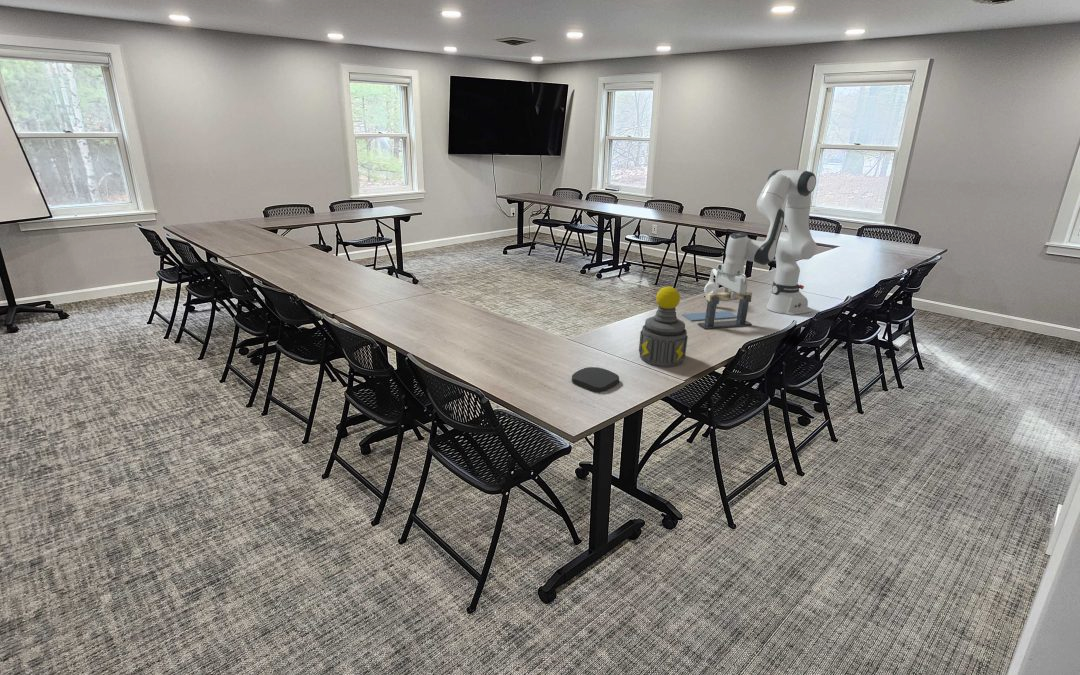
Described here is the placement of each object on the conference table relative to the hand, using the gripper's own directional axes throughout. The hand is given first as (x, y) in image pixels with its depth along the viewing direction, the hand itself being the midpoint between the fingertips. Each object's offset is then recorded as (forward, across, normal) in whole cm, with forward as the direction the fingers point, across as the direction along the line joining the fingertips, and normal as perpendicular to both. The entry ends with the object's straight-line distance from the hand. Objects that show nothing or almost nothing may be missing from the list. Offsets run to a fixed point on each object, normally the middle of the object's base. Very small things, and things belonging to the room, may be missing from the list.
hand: (728, 297), depth 263 cm
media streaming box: (+14, -45, +82) cm, 95 cm away
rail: (+1, 0, 0) cm, 1 cm away
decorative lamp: (+14, -30, +48) cm, 58 cm away
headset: (+14, +34, -13) cm, 39 cm away
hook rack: (+14, 0, 0) cm, 14 cm away
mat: (+14, +13, 0) cm, 19 cm away
